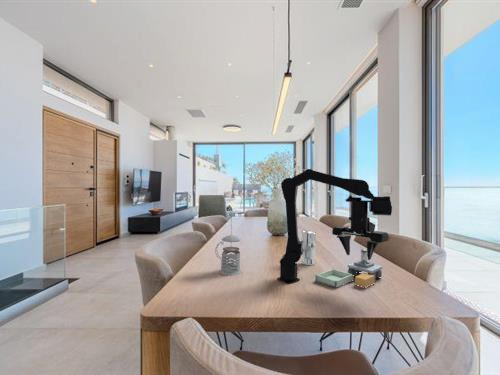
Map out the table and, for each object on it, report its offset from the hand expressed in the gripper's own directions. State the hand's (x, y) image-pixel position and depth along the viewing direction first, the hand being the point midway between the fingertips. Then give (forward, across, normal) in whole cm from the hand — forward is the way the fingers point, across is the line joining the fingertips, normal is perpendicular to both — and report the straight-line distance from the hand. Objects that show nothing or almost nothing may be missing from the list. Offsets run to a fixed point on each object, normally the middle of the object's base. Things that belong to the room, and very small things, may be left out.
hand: (358, 257), depth 98 cm
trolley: (+11, +4, -13) cm, 17 cm away
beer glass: (+11, +30, -10) cm, 34 cm away
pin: (+6, +4, -13) cm, 15 cm away
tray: (+11, +9, +1) cm, 14 cm away
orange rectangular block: (+11, 0, -5) cm, 12 cm away
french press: (+11, +44, +26) cm, 52 cm away
